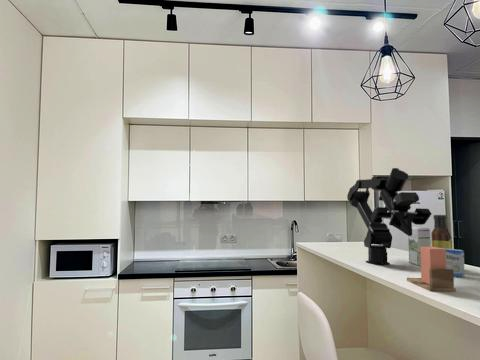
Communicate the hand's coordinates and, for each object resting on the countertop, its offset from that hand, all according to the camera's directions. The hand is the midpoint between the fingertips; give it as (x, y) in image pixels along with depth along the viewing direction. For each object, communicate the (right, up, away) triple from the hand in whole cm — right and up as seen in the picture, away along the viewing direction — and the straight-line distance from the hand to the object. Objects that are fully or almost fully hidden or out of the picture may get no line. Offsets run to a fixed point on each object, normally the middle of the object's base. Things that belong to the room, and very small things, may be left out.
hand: (410, 235), depth 100 cm
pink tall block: (0, -12, -12) cm, 17 cm away
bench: (0, -13, -10) cm, 16 cm away
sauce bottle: (+19, -15, +13) cm, 27 cm away
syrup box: (+16, -16, +22) cm, 31 cm away
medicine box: (+16, -14, +4) cm, 22 cm away
